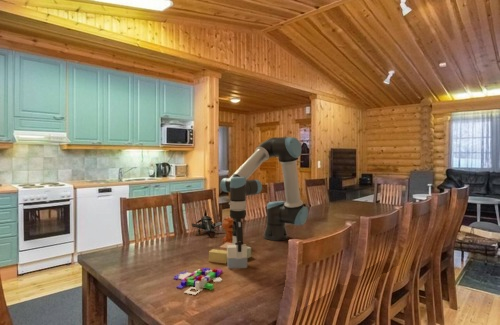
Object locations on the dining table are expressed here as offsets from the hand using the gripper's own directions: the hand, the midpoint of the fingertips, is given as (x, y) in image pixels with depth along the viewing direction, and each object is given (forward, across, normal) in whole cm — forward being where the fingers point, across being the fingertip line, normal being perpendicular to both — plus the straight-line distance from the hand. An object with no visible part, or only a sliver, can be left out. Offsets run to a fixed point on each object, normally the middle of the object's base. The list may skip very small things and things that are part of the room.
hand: (237, 253), depth 149 cm
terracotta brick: (+6, -18, -3) cm, 19 cm away
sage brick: (+6, -11, +4) cm, 13 cm away
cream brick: (+1, +1, 0) cm, 1 cm away
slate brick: (+6, +1, 0) cm, 6 cm away
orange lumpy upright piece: (+6, -33, +1) cm, 34 cm away
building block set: (+7, +14, -19) cm, 25 cm away
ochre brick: (+6, -8, -8) cm, 13 cm away
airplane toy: (+6, -60, -12) cm, 62 cm away
